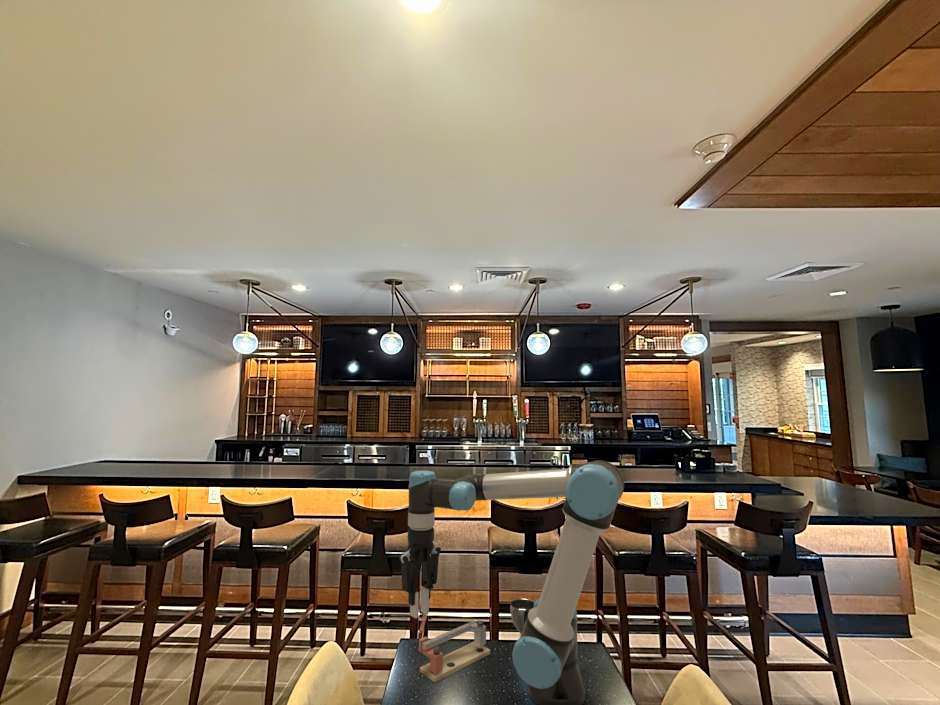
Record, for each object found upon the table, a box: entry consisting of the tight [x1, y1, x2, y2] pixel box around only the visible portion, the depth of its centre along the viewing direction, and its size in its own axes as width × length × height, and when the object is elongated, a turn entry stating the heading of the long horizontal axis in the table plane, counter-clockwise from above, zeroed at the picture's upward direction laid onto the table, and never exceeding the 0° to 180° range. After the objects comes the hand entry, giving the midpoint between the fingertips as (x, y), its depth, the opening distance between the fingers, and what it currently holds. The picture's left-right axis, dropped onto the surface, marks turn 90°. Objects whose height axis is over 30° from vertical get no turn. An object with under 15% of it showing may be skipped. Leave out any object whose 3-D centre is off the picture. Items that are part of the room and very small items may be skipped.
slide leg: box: [418, 636, 444, 674], centre depth 131 cm, size 8×3×6 cm, turn 43°
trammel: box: [422, 620, 487, 651], centre depth 136 cm, size 6×20×8 cm, turn 134°
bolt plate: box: [419, 641, 491, 683], centre depth 136 cm, size 7×22×1 cm, turn 134°
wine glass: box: [509, 598, 535, 655], centre depth 141 cm, size 8×8×15 cm
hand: (419, 614), depth 126 cm, fingers open, 3 cm apart
